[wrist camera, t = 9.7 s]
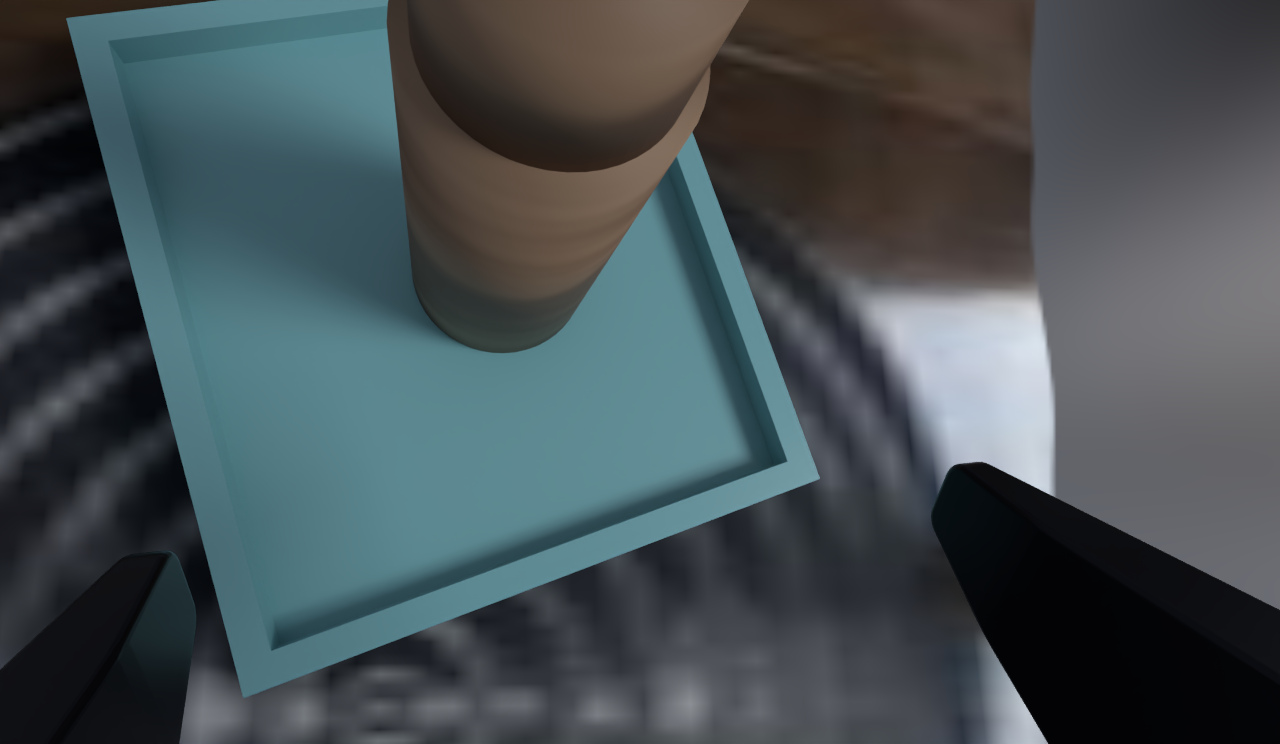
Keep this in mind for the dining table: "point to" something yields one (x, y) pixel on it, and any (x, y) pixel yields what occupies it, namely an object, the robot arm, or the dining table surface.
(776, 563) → the dining table surface
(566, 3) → the pepper mill
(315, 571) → the teal tray
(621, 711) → the dining table surface
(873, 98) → the dining table surface
